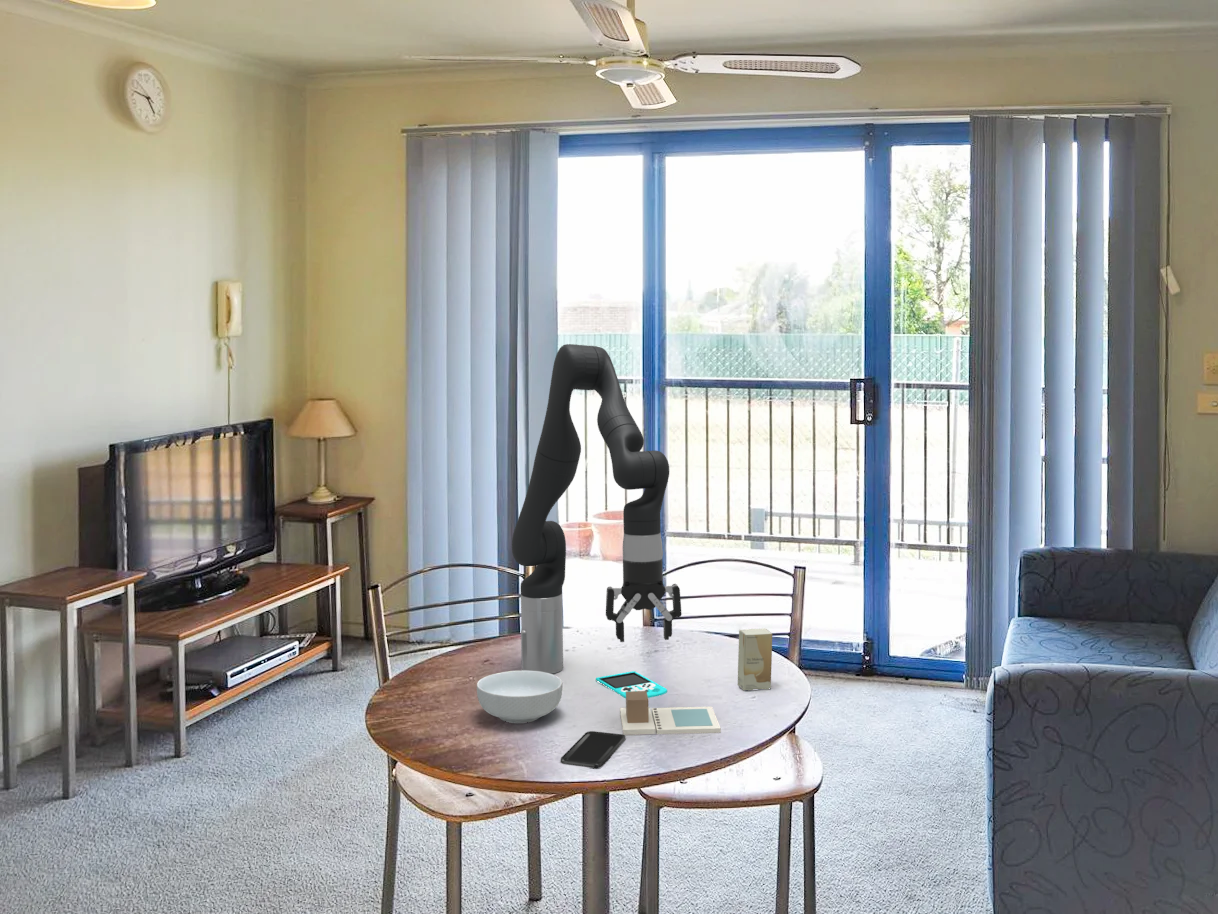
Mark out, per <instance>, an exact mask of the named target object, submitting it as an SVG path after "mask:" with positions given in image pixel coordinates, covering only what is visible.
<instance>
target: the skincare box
mask: <svg viewBox="0 0 1218 914" xmlns="http://www.w3.org/2000/svg"><path fill="white" fill-rule="evenodd" d="M737 656H738V658H737V660H738V661H737V686H740V687H741V688H740V687H739V688H740V689H741V690H743V691H744V690H748V691H754V690H753V689H764V690H770V689H769V688H772V665H773V664H772V662H773V661H772V656H773V632H772V631H770V630H769V629H768V628H766V627H765V628H748V629H747V628H746V629H739V630H738V655H737Z"/></svg>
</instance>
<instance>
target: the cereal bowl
mask: <svg viewBox="0 0 1218 914" xmlns="http://www.w3.org/2000/svg"><path fill="white" fill-rule="evenodd" d="M476 695H477V700H478V703H479V705H480V706H481V708H482V709H483V710H484V711H485V712H486V713H487V714H489V715H491V716H493V717H494V718H495V717H496V718H499V719H500V720H501V721H503V722H505V721H506V723H508V722H509V724H528V723H532V722H534V721H537V720H538V719H539V718H541V717H543V716H546V715H548V714H550V713H551V712H553V710H555V709H556V708H557V706H558V705H560V702H561V699H562V695H563V680H562V679H561V678H560V677H559V676H557V675H556V674H554V673H553V674H550V673H545V672H539V671H522V670H510V671H508V670H507V671H502V672H498V673H493V674H489V675H486V676H484V677H482V678H480V679H479V680H478V681H477V683H476ZM527 722H528V723H527Z"/></svg>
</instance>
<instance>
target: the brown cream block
mask: <svg viewBox="0 0 1218 914" xmlns="http://www.w3.org/2000/svg"><path fill="white" fill-rule="evenodd" d="M619 716H620V722H621V729H622V735H625V736H635V735H636V736H639V735H640V736H641V735H656V728H655V724H654V720H653V715H652V707H651V706H649V698H648V696H647V691H629V692H626V698H625V707H619Z"/></svg>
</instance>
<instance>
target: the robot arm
mask: <svg viewBox="0 0 1218 914" xmlns="http://www.w3.org/2000/svg"><path fill="white" fill-rule="evenodd" d="M551 372H552V373H551V379H550V386H549V394H548V398H547V406H546V411H545V415H544V421H543V424H542V429H541V433H540V437H539V440H538V443H537V447H536V452H535V455H534V461H533V466H532V472H531V475H530V479H529V483H528V488H527V490H526V494H525V497H524V498H525V499H524V501H523V504H522V507H521V510H520V513H519V516H518V519H517V521H516V523H515V527H514V530H513V534H512V538H511V551H512V556H513V559H514V560H515V562H516V564H518V565H520V566H523V567H532V566H536V567H535V569H534V570H533V571H532V572H531V573H530V574H529V575H528V576H527V577H525V578H524V579H523V580H522V581H521V583H520V620H521V621H520V623H521V624H520V626H521V629H520V648H521V649H520V652H521V654H520V655H521V659H520V660H521V671H539V672H545V673H550V674H553V675H554V674H556V673H558V672H561V671H563V670H564V632H563V631H564V629H563V626H564V625H563V624H564V623H563V585H564V583H565V580H566V579H565V578H566V562H567V561H566V558H567V557H566V556H567V541H566V536H565V532H564V529H563V528H562V526H561V525H560V524H559V523H558V522H557V521H554V520H547V518H548V516H549V515H550V512H551V510H552V509H553V508H554V506H555V505H556V503H557V502H558V501H559V500H560V498H561V497H562V496H563V494H564V493H566V491H567V490H568V488H569V487H570V485H571V484H572V482H573V480H574V478H575V477H576V473H577V469H578V465H579V461H580V459H581V453H582V444H581V441H580V437H579V434H578V432H577V430H576V427H575V424H574V422H573V419H572V415H571V411H570V410H571V409H570V407H571V406H570V405H571V398H572V393H573V392H574V390H577V391H578V390H579V391H595V392H596V393H597V394H598V395H599V397H600V399H601V403H600V406H599V409H598V412H597V419H596V421H597V427H598V430H599V431H598V432H600V433H599V434H600V436H601V437H602V439H603V440H604V443H605V445H606V446H607V448H608V451H609V455H610V460H611V466H612V468H611V469H612V476H613V479H614V482H615V483H616V484H617V485H618V486H619V487H620V488H621V489H624V490H629V491H630V490H641V489H644V491H643V493H642V495H641V496H639V498H637V499H634V500H632V501H629V502H628V503H625V505H624V507H623V511H622V513H623V515H622V516H623V518H622V519H623V539H622V580H623V581H622V586H621V588H620V587H612V586H608V587H607V588H606V595H605V596H606V597H605V598H606V599H605V616H606V619H607V620H608V621H613V622H614V623H615V637H616V638H617V640H619V642H620V643H624V642H625V623H624V620H625V618H626V617H627V616H628V615H629V614H630V613H631V612H632V610H633V609H634V610H635V611H641V610H647V611H649V610H650V611H652V610H653V609H654V608H655V609H657V610H658V611H659V613H660V614H661V615H663V617H664V618H663V621H662V622H663V624H662V625H663V626H662V627H663V639H664V640H665V641H669V640H670V637H672V635H673V620H674V619H676V618H680V617H681V616H682V615H683V613H682V602H681V601H682V600H681V589H680V587H679V586H678V584H676V583H672V584H671V585H664V581H663V579H664V578H663V577H664V576H663V575H664V572H663V571H664V570H663V569H664V568H663V555H664V550H663V540H662V533H661V532H662V531H661V530H662V529H661V528H662V527H661V522H662V521H661V517H662V516H661V510H662V506H663V501H664V497H665V494H666V489H667V486H668V482H669V477H670V464H669V461H668V458H667V456H666V455H665V454H664V453H663V452H662V451H659V450H642V449H643V447H644V442H645V440H644V439H645V438H644V436H643V433H642V432H641V430H640V428H639V426H638V424H637V422H636V421H635V419H634V417H633V416H632V414H631V412H630V411H629V408H628V407H627V406H628V405H627V404H626V401H625V398H624V395H623V391H622V388H621V385H620V382H619V379H618V375H617V373H616V369H615V367H614V363H613V361H612V359H611V356H610V355H609V353H608V352H607V350H606V349H605V348H603V347H600V346H597V345H588V344H587V345H585V344H576V343H575V344H574V343H573V344H570V343H569V344H568V343H567V344H563V345H561V347H560V348H559V349H558V350H557V353H556V355H555V357H554V362H553V366H552V371H551ZM666 593H667V594H668V596H669V597H670V598H671V599H672V609H671V610H670V611H669V610H668V609H667V608H666V606H665V605H664V604H663V602H662V601H661V600H662V598H664V596H665V594H666ZM619 595H622V597H623V599H624V600H625V601H624V602H623V604H622V605H621V607H620V609H619V610H618V612H617V613H615V612H614V607H615V601H616V600H618V598H619Z"/></svg>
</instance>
